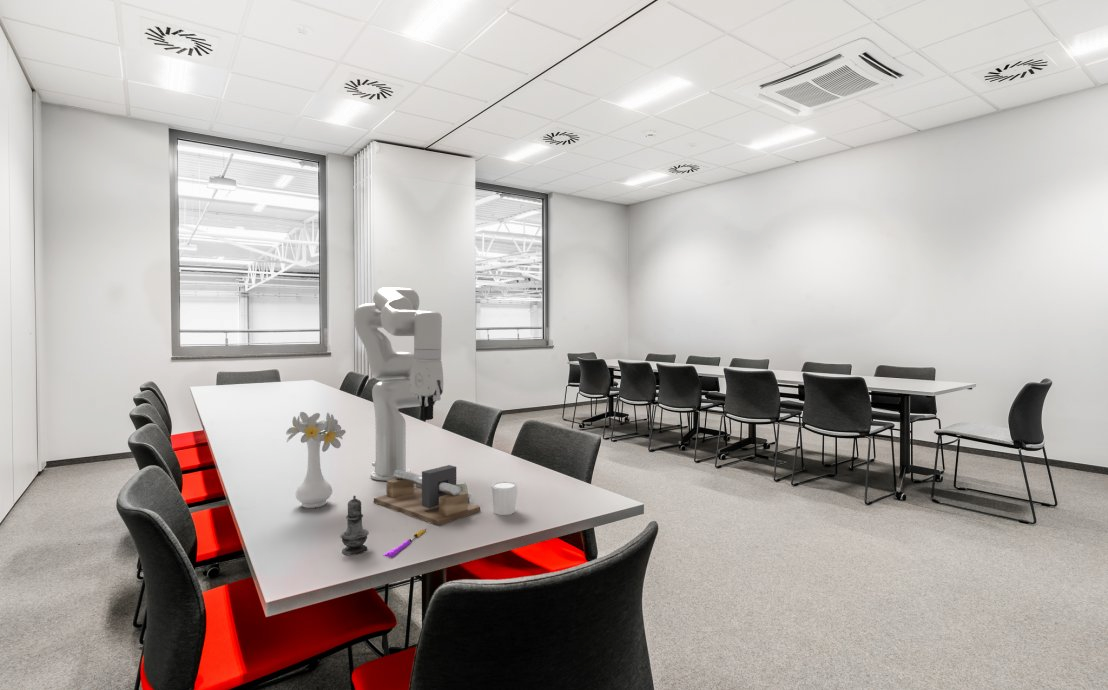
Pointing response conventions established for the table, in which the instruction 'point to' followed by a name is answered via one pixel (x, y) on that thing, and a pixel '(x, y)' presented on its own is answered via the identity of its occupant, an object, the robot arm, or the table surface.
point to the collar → (436, 484)
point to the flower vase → (315, 456)
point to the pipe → (418, 480)
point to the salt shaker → (354, 530)
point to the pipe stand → (410, 503)
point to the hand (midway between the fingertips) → (426, 419)
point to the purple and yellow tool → (403, 545)
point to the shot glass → (504, 497)
